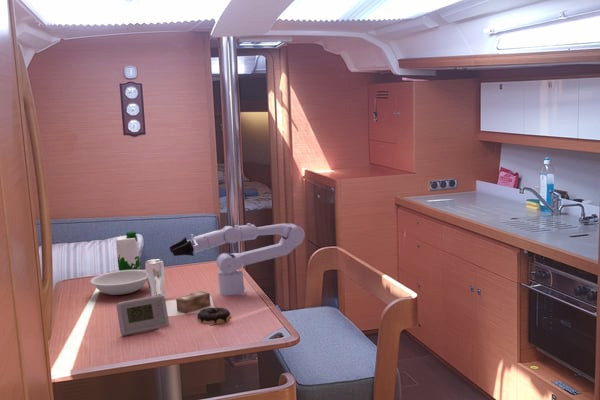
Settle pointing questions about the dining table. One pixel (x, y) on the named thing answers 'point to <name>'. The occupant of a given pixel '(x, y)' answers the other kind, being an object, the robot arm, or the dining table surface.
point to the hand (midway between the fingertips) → (171, 251)
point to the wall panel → (172, 311)
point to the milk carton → (128, 252)
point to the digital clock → (142, 315)
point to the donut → (214, 316)
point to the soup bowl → (120, 281)
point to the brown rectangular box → (193, 302)
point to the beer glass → (155, 276)
